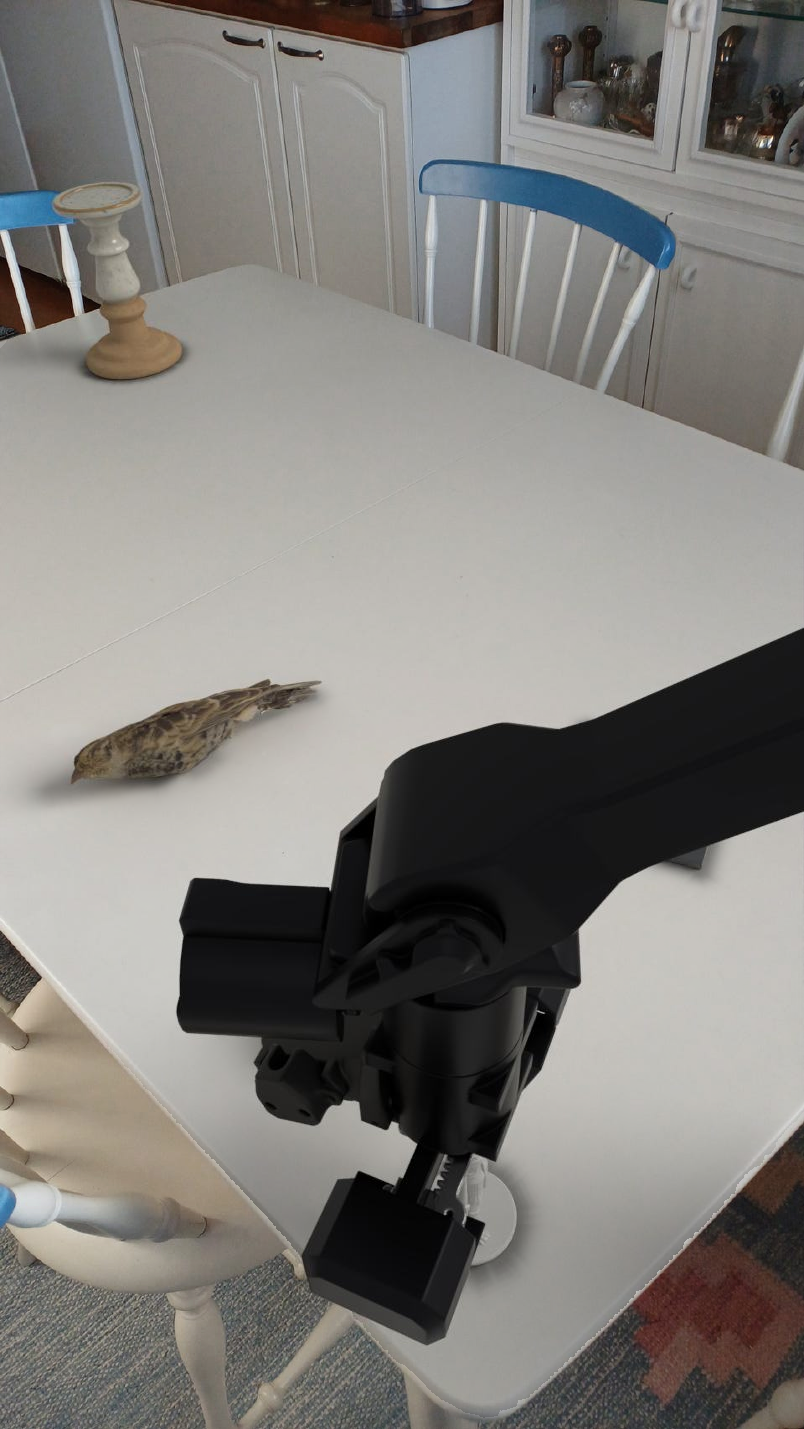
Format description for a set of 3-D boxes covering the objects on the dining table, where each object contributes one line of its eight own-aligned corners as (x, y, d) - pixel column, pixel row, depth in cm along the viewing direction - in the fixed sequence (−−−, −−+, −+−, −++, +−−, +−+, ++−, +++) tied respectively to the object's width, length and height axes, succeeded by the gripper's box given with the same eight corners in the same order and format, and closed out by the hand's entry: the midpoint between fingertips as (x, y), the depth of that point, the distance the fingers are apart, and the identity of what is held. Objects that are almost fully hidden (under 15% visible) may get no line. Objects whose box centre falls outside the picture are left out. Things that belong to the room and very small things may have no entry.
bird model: (81, 807, 76) (53, 745, 77) (86, 822, 82) (60, 764, 83) (341, 695, 83) (313, 639, 84) (329, 716, 89) (302, 664, 89)
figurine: (511, 1272, 55) (514, 1145, 47) (409, 1257, 55) (396, 1130, 48) (520, 1175, 59) (524, 1043, 51) (425, 1162, 59) (415, 1031, 52)
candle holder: (185, 372, 136) (150, 204, 123) (87, 387, 135) (41, 218, 121) (179, 333, 145) (146, 173, 132) (87, 347, 144) (44, 186, 130)
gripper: (367, 801, 52) (382, 984, 63) (157, 1146, 40) (219, 1303, 50) (591, 867, 49) (566, 1049, 59) (438, 1268, 36) (441, 1409, 47)
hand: (453, 1184), depth 54 cm, fingers closed on figurine, 6 cm apart
